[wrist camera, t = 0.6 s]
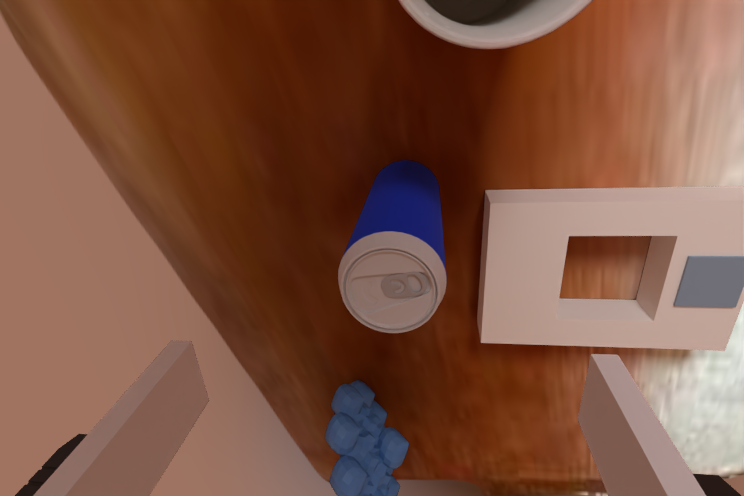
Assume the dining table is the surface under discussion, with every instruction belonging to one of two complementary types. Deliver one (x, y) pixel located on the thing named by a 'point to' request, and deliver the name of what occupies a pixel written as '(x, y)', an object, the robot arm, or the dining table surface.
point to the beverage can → (396, 252)
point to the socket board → (659, 278)
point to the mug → (492, 20)
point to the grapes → (363, 444)
